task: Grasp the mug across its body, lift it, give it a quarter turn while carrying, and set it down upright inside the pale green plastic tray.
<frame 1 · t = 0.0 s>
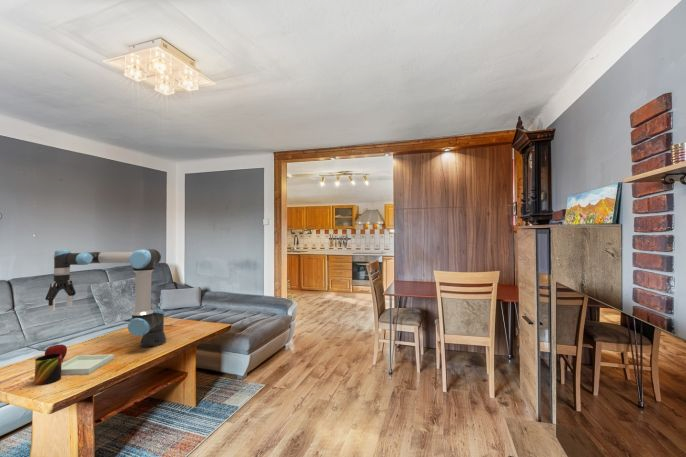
hand: (60, 308, 193), 28 cm above the table, fingers open, 13 cm apart
tray: (82, 367, 171), on the table
apple: (55, 362, 178), on the table
mug: (44, 381, 155), on the table
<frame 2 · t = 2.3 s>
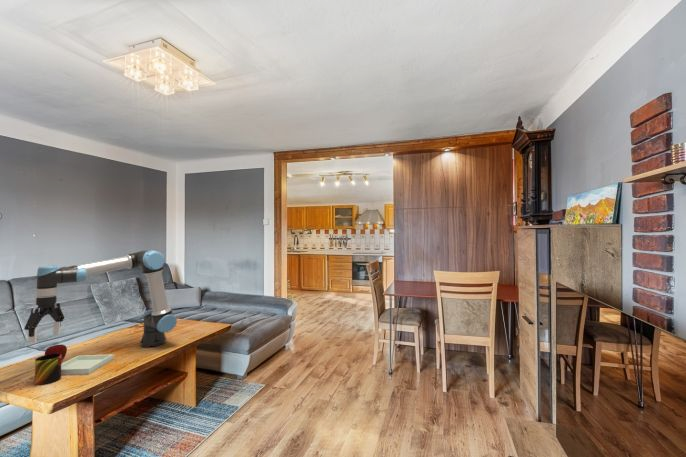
hand: (45, 338, 156), 21 cm above the table, fingers open, 13 cm apart
nothing on the table moved.
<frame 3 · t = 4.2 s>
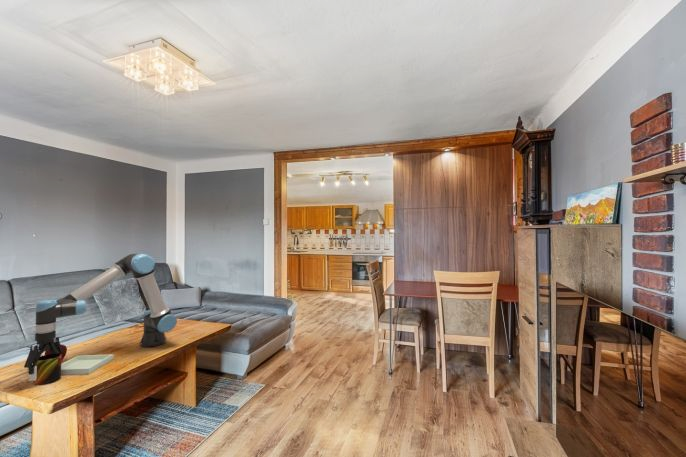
hand: (44, 374, 155), 3 cm above the table, fingers open, 12 cm apart
nothing on the table moved.
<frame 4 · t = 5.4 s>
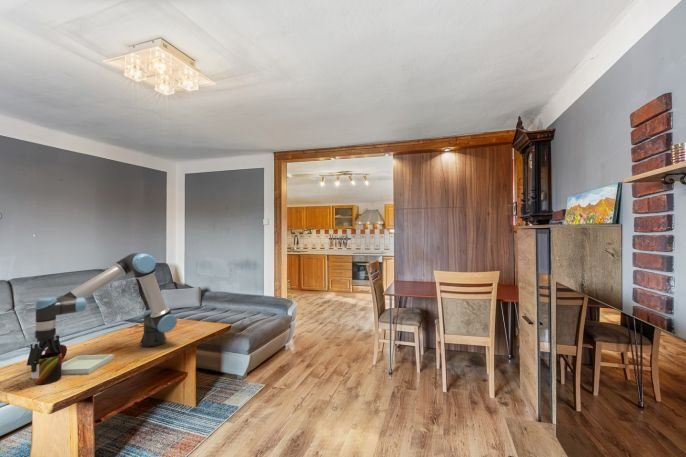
hand: (45, 373, 155), 4 cm above the table, fingers closed on mug, 10 cm apart
mug: (44, 380, 155), on the table, touching gripper
everything else where it was.
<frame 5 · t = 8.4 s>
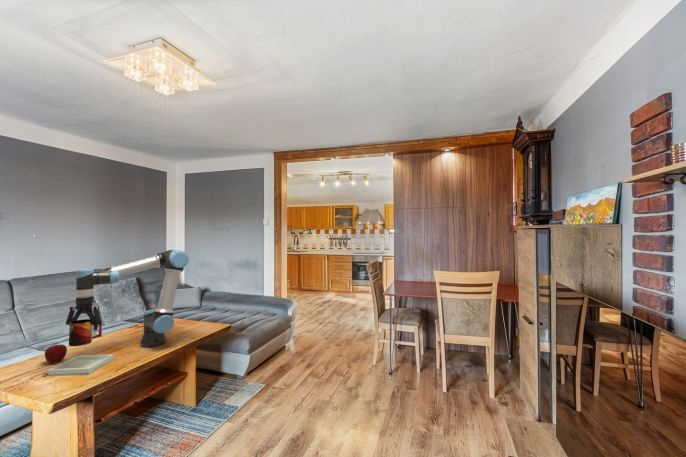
hand: (83, 336, 172), 17 cm above the table, fingers closed on mug, 10 cm apart
mug: (83, 342, 172), point 14 cm above the table, touching gripper
everything else where it was.
when the fingers open (5 cm above the table, at t = 11.0 s): mug stays where it is, resting on tray.
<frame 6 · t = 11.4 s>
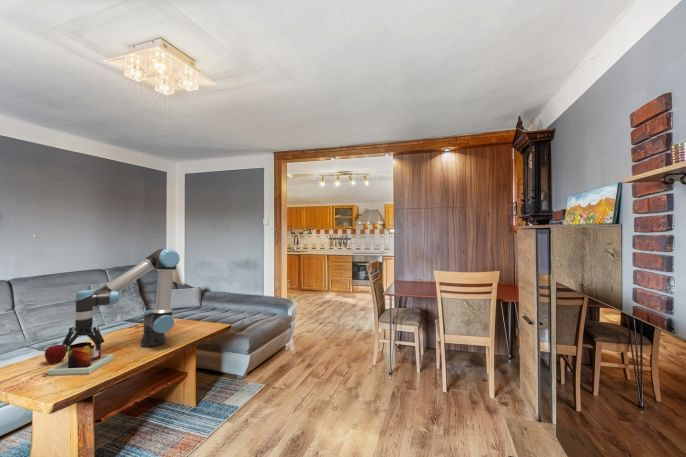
hand: (83, 356, 171), 6 cm above the table, fingers open, 13 cm apart
mug: (82, 365, 172), point 1 cm above the table, touching tray
everything else where it was.
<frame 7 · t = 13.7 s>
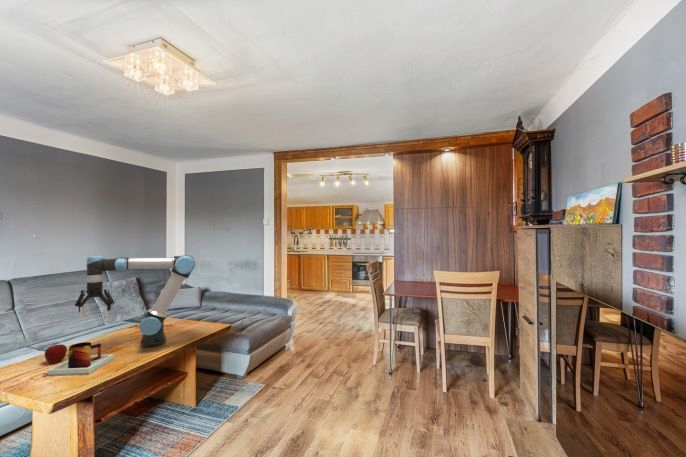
hand: (94, 316, 186), 24 cm above the table, fingers open, 13 cm apart
nothing on the table moved.
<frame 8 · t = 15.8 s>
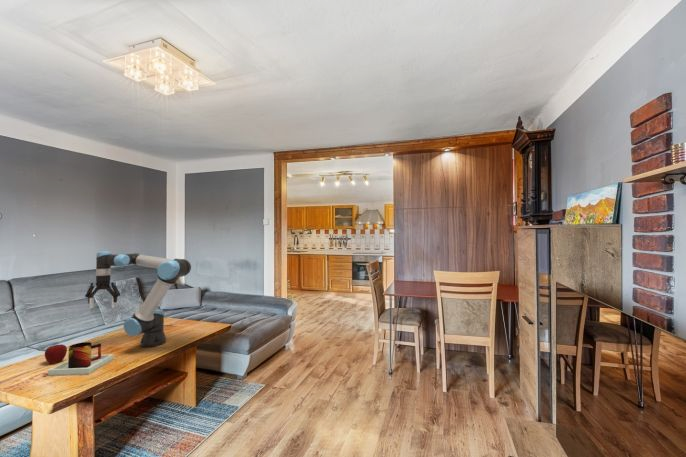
hand: (102, 307, 200), 27 cm above the table, fingers open, 13 cm apart
nothing on the table moved.
at the end: mug inside the target area on the tray (0.6 cm from its centre), point 0.6 cm above the tray's base; mug tilted 0°; the gripper is holding nothing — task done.
